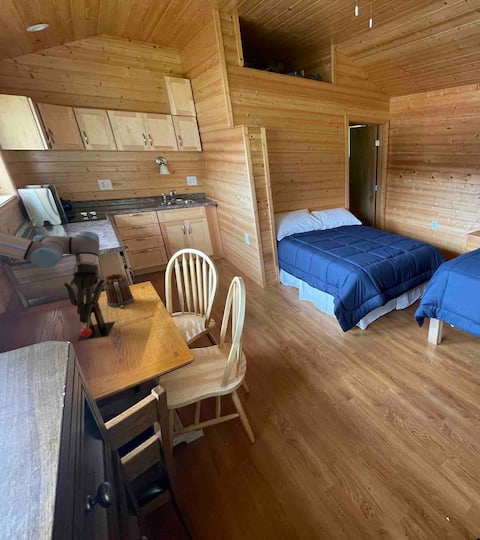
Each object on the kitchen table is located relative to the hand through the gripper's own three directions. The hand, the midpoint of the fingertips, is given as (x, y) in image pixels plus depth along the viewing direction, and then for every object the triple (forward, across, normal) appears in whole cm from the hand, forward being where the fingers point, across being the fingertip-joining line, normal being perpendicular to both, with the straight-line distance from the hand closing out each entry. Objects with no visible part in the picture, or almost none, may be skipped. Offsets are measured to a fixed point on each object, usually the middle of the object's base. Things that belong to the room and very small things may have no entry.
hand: (83, 321), depth 117 cm
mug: (-14, -4, -30) cm, 33 cm away
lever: (-1, 0, -5) cm, 5 cm away
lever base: (+2, 0, -13) cm, 14 cm away
